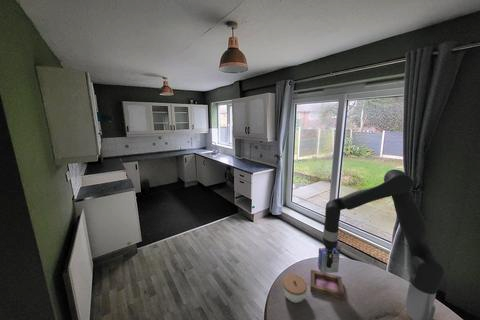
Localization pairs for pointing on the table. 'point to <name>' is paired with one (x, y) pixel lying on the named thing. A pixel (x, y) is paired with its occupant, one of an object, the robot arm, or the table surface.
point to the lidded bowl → (294, 288)
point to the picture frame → (327, 285)
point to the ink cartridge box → (323, 261)
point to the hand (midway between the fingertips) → (328, 262)
